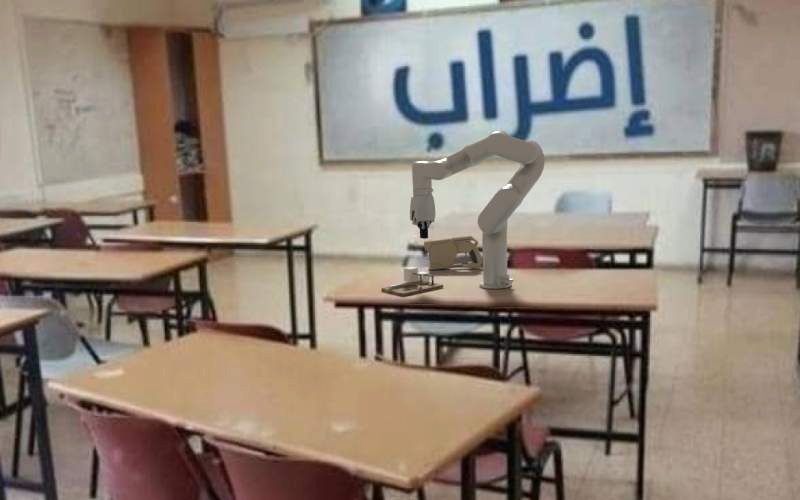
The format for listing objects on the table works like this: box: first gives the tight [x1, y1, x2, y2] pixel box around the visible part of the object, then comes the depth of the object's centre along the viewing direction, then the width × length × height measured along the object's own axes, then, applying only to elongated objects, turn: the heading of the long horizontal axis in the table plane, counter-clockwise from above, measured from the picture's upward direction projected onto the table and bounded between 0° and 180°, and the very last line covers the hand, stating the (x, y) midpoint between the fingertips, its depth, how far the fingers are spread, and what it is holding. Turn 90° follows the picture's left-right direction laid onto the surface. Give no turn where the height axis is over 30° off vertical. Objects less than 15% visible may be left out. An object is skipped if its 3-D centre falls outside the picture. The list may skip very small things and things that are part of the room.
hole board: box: [381, 281, 444, 297], centre depth 314 cm, size 14×20×1 cm
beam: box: [387, 271, 435, 290], centre depth 315 cm, size 8×19×4 cm, turn 128°
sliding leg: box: [403, 266, 422, 286], centre depth 316 cm, size 8×4×6 cm, turn 38°
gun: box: [423, 235, 483, 271], centre depth 350 cm, size 24×3×15 cm, turn 84°
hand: (424, 238), depth 319 cm, fingers closed
